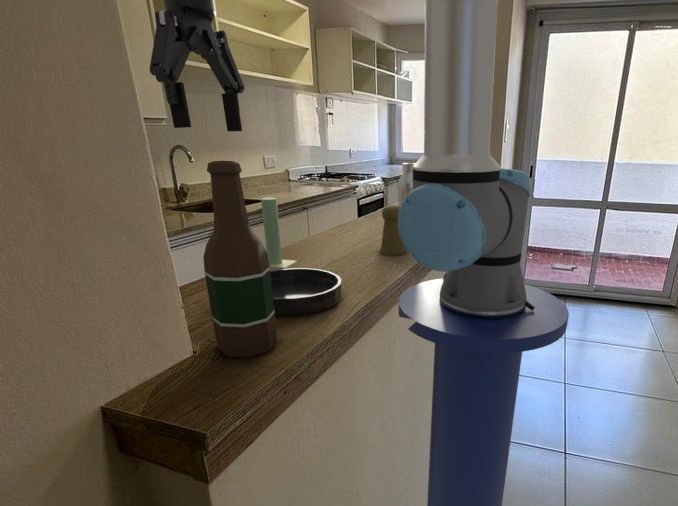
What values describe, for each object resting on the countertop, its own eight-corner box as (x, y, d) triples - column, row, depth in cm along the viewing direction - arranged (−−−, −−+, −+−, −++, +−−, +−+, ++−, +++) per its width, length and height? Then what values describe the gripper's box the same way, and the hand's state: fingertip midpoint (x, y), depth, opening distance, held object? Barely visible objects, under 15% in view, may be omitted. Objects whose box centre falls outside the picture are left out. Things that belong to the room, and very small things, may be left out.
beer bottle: (289, 340, 63) (272, 161, 54) (249, 364, 57) (222, 165, 47) (247, 329, 66) (224, 158, 57) (204, 351, 59) (170, 161, 50)
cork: (399, 247, 113) (399, 203, 108) (409, 253, 108) (410, 207, 103) (376, 249, 110) (376, 204, 106) (385, 256, 105) (385, 208, 101)
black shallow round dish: (354, 288, 84) (354, 272, 82) (319, 322, 69) (318, 303, 68) (275, 280, 87) (273, 264, 85) (225, 311, 72) (222, 292, 71)
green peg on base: (297, 272, 92) (291, 197, 86) (286, 279, 88) (279, 201, 82) (266, 269, 93) (258, 195, 88) (253, 276, 89) (244, 199, 83)
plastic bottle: (412, 239, 122) (414, 162, 114) (425, 244, 117) (428, 164, 109) (391, 241, 119) (391, 162, 111) (403, 247, 114) (405, 164, 106)
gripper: (218, 11, 84) (236, 133, 91) (98, -41, 61) (135, 126, 68) (253, 7, 82) (268, 131, 89) (143, -49, 59) (176, 124, 67)
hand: (210, 129), depth 79 cm, fingers open, 13 cm apart
